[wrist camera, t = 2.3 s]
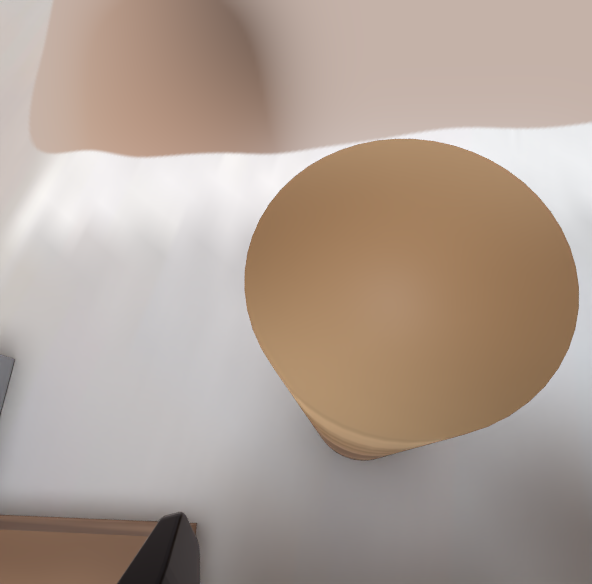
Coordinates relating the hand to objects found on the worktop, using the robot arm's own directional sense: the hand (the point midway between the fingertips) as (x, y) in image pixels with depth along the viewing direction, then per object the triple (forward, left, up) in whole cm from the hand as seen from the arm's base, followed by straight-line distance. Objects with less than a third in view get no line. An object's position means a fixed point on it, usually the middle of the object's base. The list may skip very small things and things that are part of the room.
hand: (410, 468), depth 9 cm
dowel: (+2, +1, -10) cm, 10 cm away
